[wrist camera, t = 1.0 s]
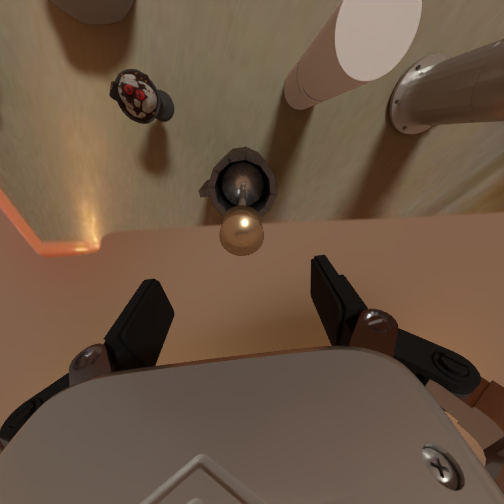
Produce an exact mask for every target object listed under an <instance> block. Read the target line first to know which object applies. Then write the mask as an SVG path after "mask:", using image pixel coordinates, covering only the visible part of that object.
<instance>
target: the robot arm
mask: <svg viewBox="0 0 504 504" xmlns="http://www.w3.org/2000/svg"><path fill="white" fill-rule="evenodd" d="M394 102H395V103H394ZM389 117H390V121H391V124H392V125H393V127H394V128H395V129H396V130H397V131H398V132H400V133H402V134H418V133H421V132H424V131H426V130H428V129H429V128H431V127H432V126H434V125H438V124H457V123H476V122H496V121H504V39H501V40H499V41H496V42H493V43H491V44H488V45H485V46H482V47H480V48H477V49H474V50H472V51H469V52H466V53H464V54H461V55H458V56H455V57H453V58H452V57H451V56H449V55H447V54H443V53H441V54H433V55H430V56H427V57H425V58H423V59H421V60H419V61H418V62H416V63H415V64H414V65H412V66H411V67H410V68H409V69H408V70H407V71H406V72H405V73H404V74H403V76H402V77H401V79H400V80H399V82H398V83H397V85H396V87H395V89H394V91H393V94H392V97H391V100H390V105H389ZM311 298H312V299H313V302H314V305H315V307H316V309H317V312H318V314H319V316H320V319H321V321H322V324H323V326H324V328H325V331H326V333H327V336H328V338H329V340H330V343H331V345H332V346H322V347H312V348H301V349H292V350H283V351H274V352H265V353H257V354H248V355H240V356H232V357H223V358H215V359H207V360H199V361H192V362H183V363H176V364H167V365H160V366H155V365H156V362H157V359H158V357H159V354H160V352H161V349H162V346H163V344H164V341H165V339H166V336H167V333H168V331H169V328H170V325H171V323H172V320H173V318H174V310H173V308H172V306H171V304H170V302H169V300H168V298H167V296H166V294H165V292H164V290H163V288H162V286H161V284H160V282H159V281H157V280H156V279H148V280H144V281H143V282H142V284H141V285H140V287H139V288H138V289H137V291H136V292H135V294H134V295H133V297H132V298H131V300H130V301H129V303H128V304H127V305H126V307H125V308H124V310H123V312H122V313H121V314H120V316H119V317H118V319H117V320H116V322H115V323H114V325H113V326H112V327H111V329H110V330H109V332H108V333H107V335H106V336H105V338H104V339H105V343H104V344H95V345H91V346H89V347H87V348H86V349H84V350H83V351H81V352H80V353H79V354H78V355H77V356H76V357H75V358H74V359H73V360H72V362H71V364H70V367H69V373H68V374H66V375H64V376H63V377H62V378H60V379H59V380H57V381H56V382H54V383H53V384H51V385H50V386H49V387H47V388H45V389H44V390H42V391H41V392H39V393H38V394H36V395H35V396H33V397H32V398H30V399H29V400H28V401H26V402H25V403H23V404H22V405H21V406H19V407H18V408H17V409H16V410H15V411H14V412H13V413H12V414H11V415H10V416H9V417H8V418H7V420H6V421H5V422H4V424H3V426H2V427H1V430H0V504H504V387H502V386H501V385H499V384H498V383H496V382H494V381H491V382H488V381H487V380H485V379H484V378H482V377H481V376H480V374H479V372H478V370H477V369H476V368H475V366H474V365H473V364H472V363H471V362H470V361H468V360H467V359H465V358H464V357H463V356H461V355H459V354H457V353H455V352H453V351H451V350H449V349H446V348H444V347H441V346H439V345H436V344H434V343H432V342H430V341H427V340H425V339H423V338H420V337H418V336H416V335H413V334H411V333H409V332H406V331H404V330H402V329H399V328H398V324H397V322H396V320H395V319H394V318H393V317H392V316H391V315H390V314H388V313H386V312H384V311H382V310H378V309H368V308H367V307H366V305H365V304H364V302H363V301H362V299H361V298H360V297H359V295H358V294H357V293H356V291H355V290H354V288H353V287H352V286H351V284H350V283H349V282H348V280H347V279H346V277H345V276H344V275H338V273H337V272H336V270H335V269H334V267H333V266H332V264H331V263H330V262H329V260H328V259H327V257H326V256H325V255H319V256H315V257H314V259H312V260H311ZM444 411H446V412H448V413H449V414H450V415H452V416H453V417H454V418H455V419H457V420H458V422H457V423H458V424H459V425H460V426H461V427H462V428H464V429H465V430H466V431H467V432H468V433H470V435H471V436H473V438H475V439H476V441H477V442H478V443H479V445H480V446H481V448H482V449H483V451H484V454H485V457H486V464H485V467H484V466H483V464H482V463H481V461H480V460H479V459H478V457H477V456H476V454H475V453H474V451H473V450H472V449H471V447H470V446H469V444H468V443H467V442H466V440H465V439H464V438H463V436H462V435H461V434H460V432H459V431H458V429H457V428H456V427H455V425H454V424H453V422H452V421H451V420H450V418H449V417H448V416H447V414H446V413H445V412H444ZM422 449H423V450H422Z"/></svg>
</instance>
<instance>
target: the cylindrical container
mask: <svg viewBox="0 0 504 504" xmlns="http://www.w3.org/2000/svg"><path fill="white" fill-rule="evenodd" d="M421 9H422V0H340V2H339V3H338V5H337V6H336V7H335V9H334V10H333V12H332V13H331V14H330V16H329V17H328V19H327V20H326V21H325V23H324V24H323V26H322V27H321V28H320V30H319V31H318V33H317V34H316V35H315V37H314V38H313V39H312V41H311V42H310V44H309V45H308V46H307V48H306V49H305V51H304V52H303V53H302V55H301V56H300V58H299V59H298V60H297V62H296V63H295V65H294V66H293V67H292V69H291V70H290V72H289V73H288V75H287V77H286V80H285V84H284V95H285V98H286V101H287V103H288V104H289V105H290V106H291V107H292V108H294V109H297V110H303V109H306V108H309V107H311V106H313V105H316V104H318V103H321V102H323V101H325V100H328V99H330V98H332V97H335V96H337V95H340V94H342V93H344V92H347V91H349V90H351V89H354V88H356V87H359V86H361V85H363V84H366V83H368V82H370V81H373V80H375V79H378V78H379V77H381V76H383V75H385V74H386V73H388V72H389V71H390V70H391V69H393V68H394V67H395V66H396V65H397V64H398V63H399V61H400V60H401V59H402V57H403V56H404V55H405V53H406V52H407V50H408V48H409V47H410V45H411V43H412V41H413V38H414V36H415V34H416V31H417V28H418V24H419V21H420V16H421Z"/></svg>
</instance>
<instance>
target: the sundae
mask: <svg viewBox="0 0 504 504" xmlns="http://www.w3.org/2000/svg"><path fill="white" fill-rule="evenodd" d="M109 95H110V97H111V98H113V99H114V100H115V101H117V102H118V104H119V106H120V108H121V110H122V111H123V112H124V113H125V115H126V116H128V117H129V118H130V119H132V120H133V121H135V122H138V123H142V124H147V123H150V122H151V121H153V120H154V119H155V117H156V118H157V119H159V120H161V121H167V120H169V119H170V118H171V117H172V115H173V113H174V105H173V102H172V100H171V98H170V96H169V95H168V94H167V93H166V92H164V91H161V90H157V89H156V87H155V85H154V84H153V82H152V81H151V80H150V79H149V77H148V76H147V75H146V74H144V73H142V72H140V71H138V70H135V69H127V70H124V71H122V72H121V73H119V74H118V76H117V77H116V80H115V81H112V82H111V86H110V94H109Z"/></svg>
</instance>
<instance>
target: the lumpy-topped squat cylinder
mask: <svg viewBox="0 0 504 504" xmlns="http://www.w3.org/2000/svg"><path fill="white" fill-rule="evenodd" d="M49 1H50V2H51V3H53V4H54V5H56V6H57V7H59V8H60V9H62V10H63V11H65V12H66V13H67V14H69V15H70V16H72V17H73V18H75V19H76V20H78V21H79V22H82V23H85V24H95V25H103V24H111V23H115V22H118V21H120V20H122V19H123V18H124V17H125V16H126V14H127V13H128V12H129V10H130V9H131V7H132V5H133V3H134V1H135V0H49Z"/></svg>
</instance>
